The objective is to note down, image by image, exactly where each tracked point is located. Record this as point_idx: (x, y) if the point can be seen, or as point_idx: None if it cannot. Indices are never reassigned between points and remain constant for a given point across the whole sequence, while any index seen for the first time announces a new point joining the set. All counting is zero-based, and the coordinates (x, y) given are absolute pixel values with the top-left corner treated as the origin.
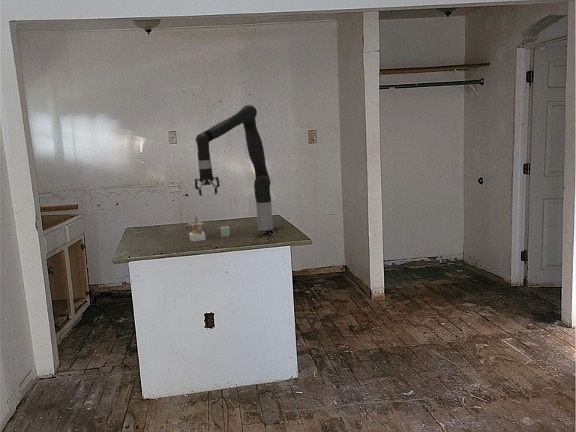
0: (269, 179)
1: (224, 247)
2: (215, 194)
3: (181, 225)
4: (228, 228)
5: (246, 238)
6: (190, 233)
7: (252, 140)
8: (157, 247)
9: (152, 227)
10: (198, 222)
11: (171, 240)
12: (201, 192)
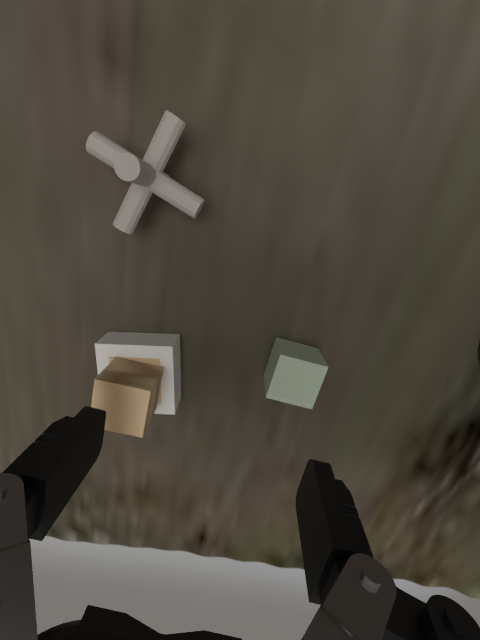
0: None
1: (228, 551)
2: (301, 495)
3: None
4: (308, 407)
5: (353, 469)
6: (101, 368)
7: None
8: None
9: None
10: (163, 145)
11: (15, 315)
12: (77, 462)
